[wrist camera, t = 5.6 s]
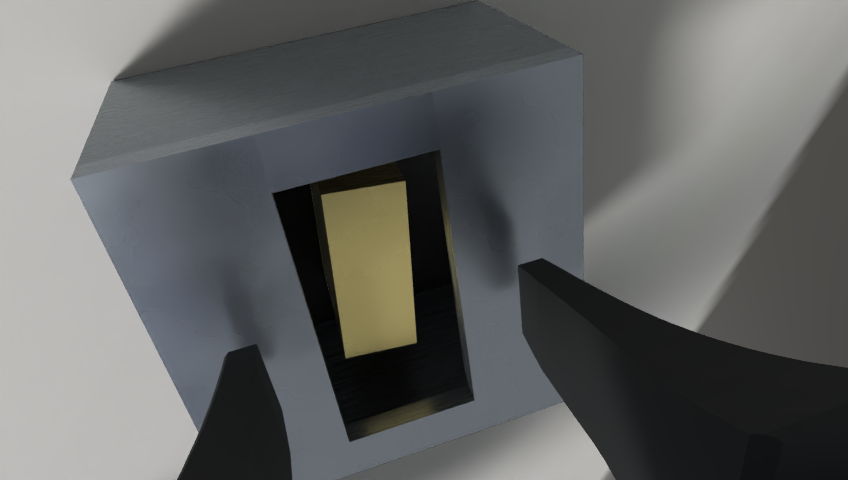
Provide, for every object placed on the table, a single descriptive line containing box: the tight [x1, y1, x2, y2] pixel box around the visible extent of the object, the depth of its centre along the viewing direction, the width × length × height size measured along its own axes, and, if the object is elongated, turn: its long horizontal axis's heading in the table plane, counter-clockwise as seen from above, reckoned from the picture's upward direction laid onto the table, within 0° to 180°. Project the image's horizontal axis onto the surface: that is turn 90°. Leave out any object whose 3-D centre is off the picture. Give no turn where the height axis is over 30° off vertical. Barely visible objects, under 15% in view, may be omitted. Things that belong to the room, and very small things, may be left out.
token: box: [310, 162, 417, 358], centre depth 18 cm, size 2×5×4 cm, turn 1°
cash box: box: [71, 1, 583, 480], centre depth 17 cm, size 10×10×6 cm
